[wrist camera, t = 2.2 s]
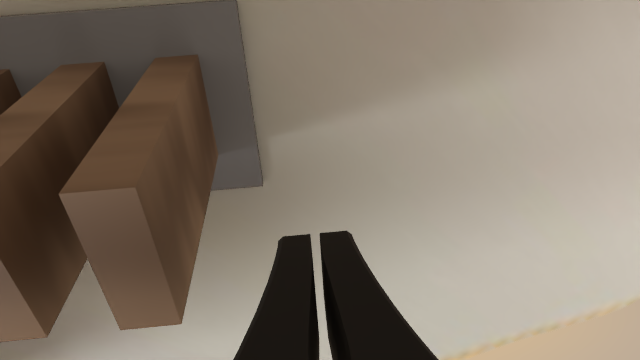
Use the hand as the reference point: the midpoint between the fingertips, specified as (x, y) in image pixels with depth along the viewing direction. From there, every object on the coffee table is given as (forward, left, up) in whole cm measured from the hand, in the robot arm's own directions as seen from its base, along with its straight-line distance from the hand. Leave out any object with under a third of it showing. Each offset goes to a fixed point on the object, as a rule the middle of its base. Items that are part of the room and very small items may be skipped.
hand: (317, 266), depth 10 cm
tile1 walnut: (0, +5, -10) cm, 11 cm away
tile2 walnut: (0, +8, -10) cm, 12 cm away
